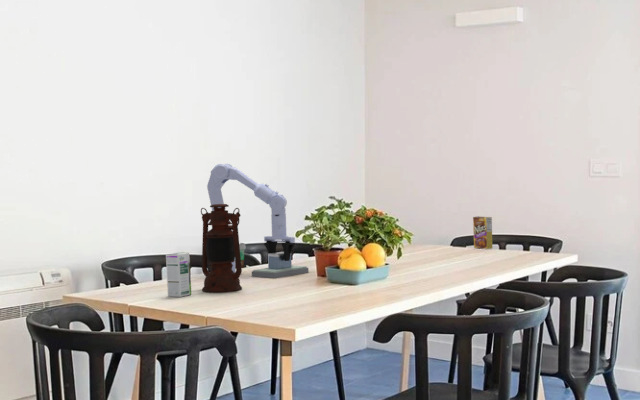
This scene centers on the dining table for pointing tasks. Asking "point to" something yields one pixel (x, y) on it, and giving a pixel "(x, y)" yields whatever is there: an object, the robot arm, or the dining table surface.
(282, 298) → the dining table surface
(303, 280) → the dining table surface
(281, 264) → the housing
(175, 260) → the syrup box
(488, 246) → the candy box
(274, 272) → the stand
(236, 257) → the lantern
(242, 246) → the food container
